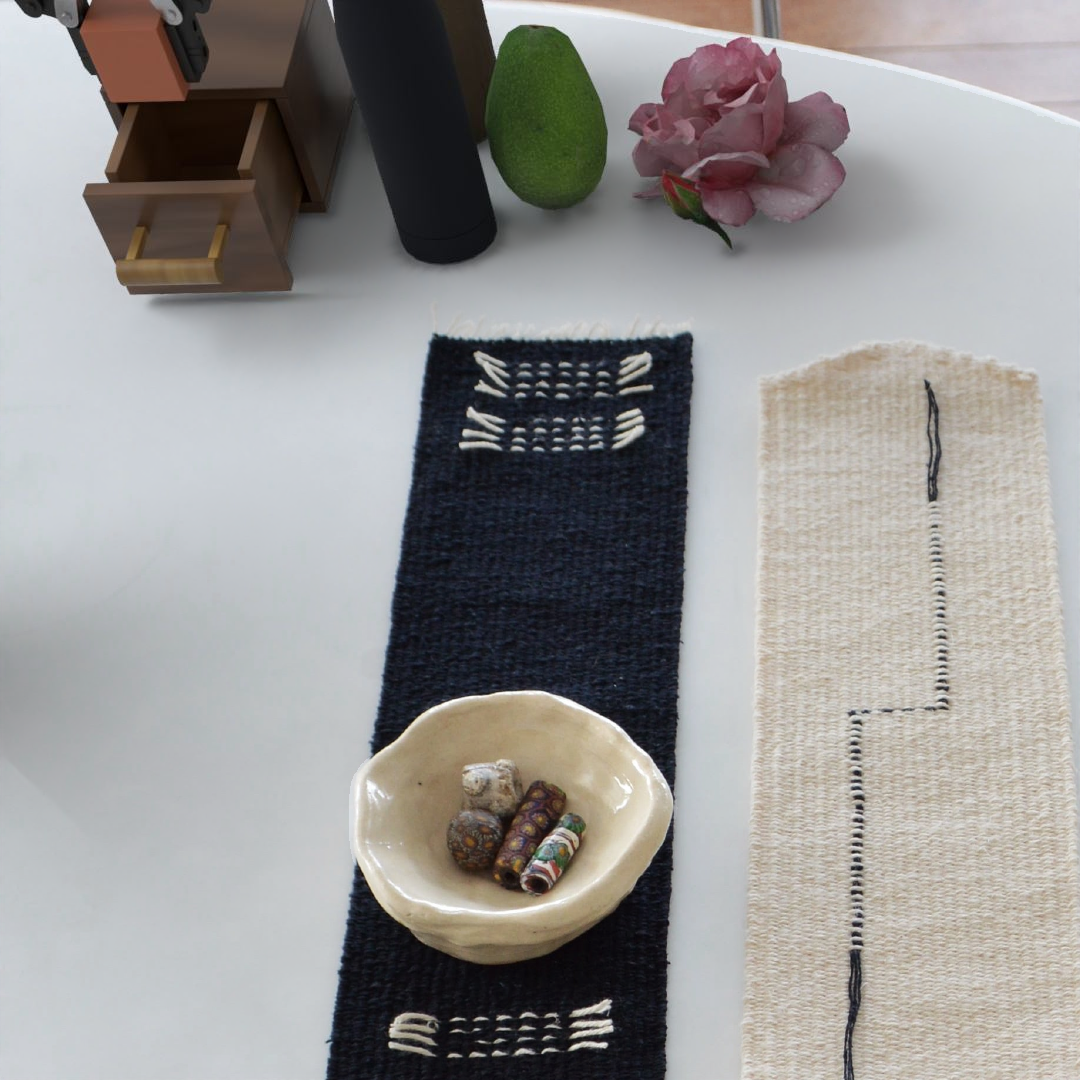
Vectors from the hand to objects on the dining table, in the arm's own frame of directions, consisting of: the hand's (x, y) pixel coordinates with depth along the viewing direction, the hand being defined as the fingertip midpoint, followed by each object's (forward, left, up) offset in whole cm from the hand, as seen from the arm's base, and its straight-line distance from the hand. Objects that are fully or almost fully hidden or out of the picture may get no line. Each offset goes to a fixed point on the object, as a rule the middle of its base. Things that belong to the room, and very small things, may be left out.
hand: (153, 74), depth 105 cm
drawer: (0, -1, -12) cm, 12 cm away
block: (0, 0, 0) cm, 0 cm away
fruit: (+21, +6, -13) cm, 26 cm away
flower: (+34, +5, -13) cm, 37 cm away
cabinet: (0, +12, -13) cm, 17 cm away
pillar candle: (+12, +16, -13) cm, 24 cm away
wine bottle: (+14, +2, -13) cm, 20 cm away
